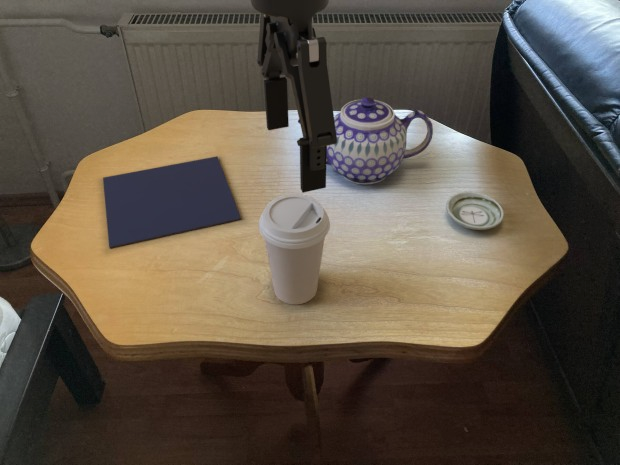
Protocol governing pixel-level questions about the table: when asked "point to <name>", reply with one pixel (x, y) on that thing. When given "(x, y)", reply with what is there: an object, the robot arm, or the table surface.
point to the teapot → (372, 141)
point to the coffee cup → (294, 245)
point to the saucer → (474, 210)
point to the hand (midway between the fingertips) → (294, 155)
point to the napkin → (167, 201)
